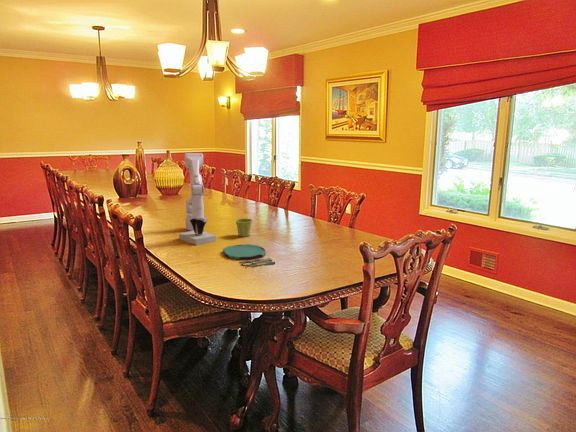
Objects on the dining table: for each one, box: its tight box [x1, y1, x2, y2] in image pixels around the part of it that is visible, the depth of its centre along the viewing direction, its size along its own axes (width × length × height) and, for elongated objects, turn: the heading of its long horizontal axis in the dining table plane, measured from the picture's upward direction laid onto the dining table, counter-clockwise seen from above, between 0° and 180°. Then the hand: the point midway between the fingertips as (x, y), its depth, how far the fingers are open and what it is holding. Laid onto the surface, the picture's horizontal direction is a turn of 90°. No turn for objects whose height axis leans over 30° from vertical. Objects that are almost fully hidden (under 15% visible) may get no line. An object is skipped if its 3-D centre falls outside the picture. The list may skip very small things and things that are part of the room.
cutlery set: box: [222, 243, 276, 268], centre depth 196 cm, size 20×30×2 cm, turn 24°
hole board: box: [178, 230, 217, 246], centre depth 223 cm, size 16×12×3 cm
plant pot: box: [234, 218, 253, 238], centre depth 233 cm, size 9×9×9 cm
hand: (198, 233), depth 222 cm, fingers closed on dowel, 3 cm apart
